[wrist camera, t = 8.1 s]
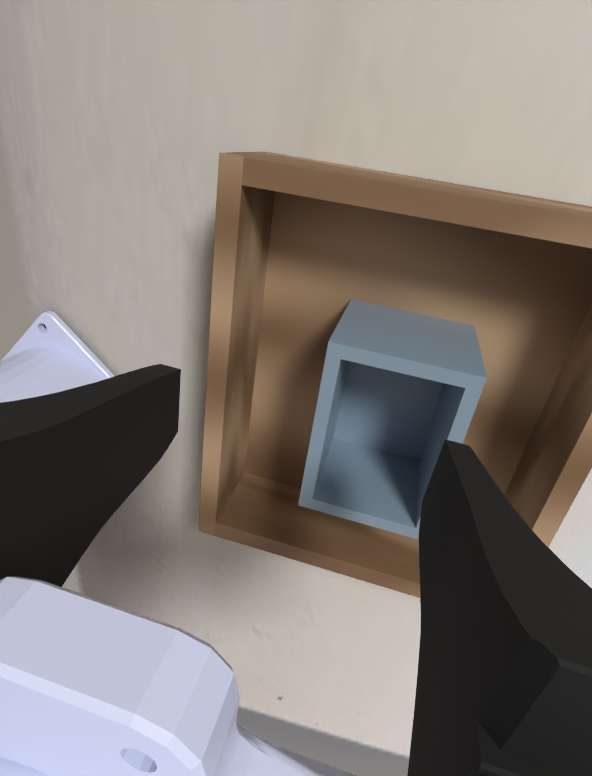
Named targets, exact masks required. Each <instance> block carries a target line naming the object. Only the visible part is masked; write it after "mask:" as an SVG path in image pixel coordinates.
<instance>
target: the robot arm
mask: <svg viewBox="0 0 592 776" xmlns="http://www.w3.org/2000/svg"><path fill="white" fill-rule="evenodd" d="M43 324H44V325H45V326H46V328H47V329H45V327H44V325H43ZM180 373H181V369H177V368H173V367H169V366H166V365H162V364H158V365H153V366H149V367H145V368H141V369H138V370H134V371H131V372H128V373H125V374H121V375H118V376H114V375H113V374H112V373H111V372H110V371H109V370H108V369H107V368H106V366H105V365H104V364H103V363H102V362H101V361H100V360H99V359H98V358H97V357H96V356H95V355H94V354H93V353H92V352H91V351H90V349H89V348H88V347H87V346H86V345H85V344H84V343H83V342H82V341H81V340H80V339H79V338H78V337H77V336H76V335H75V334H74V332H73V331H72V330H71V329H70V328H69V327H68V326H67V325H66V324H65V323H64V322H63V321H62V320H61V319H60V318H59V317H58V315H56V314H55V313H54V312H52V311H46V312H44V313H42V314H41V315H40V316H39V317H38V318H37V319H36V320H35V322H34V323H33V324H32V325H31V326H30V328H29V329H28V330H27V331H26V332H25V333H24V335H23V336H22V337H21V338H20V339H19V340H18V342H17V343H16V344H15V345H14V346H13V347H12V349H11V350H10V351H9V352H8V353H7V355H6V356H5V357H4V358H3V359H2V360H1V362H0V776H356V775H353V774H350V773H348V772H345V771H342V770H340V769H337V768H334V767H331V766H329V765H326V764H324V763H321V762H318V761H316V760H313V759H310V758H308V757H305V756H302V755H299V754H297V753H294V752H291V751H289V750H286V749H283V748H281V747H278V746H275V745H273V744H272V743H270V742H269V741H267V740H265V739H264V738H262V737H260V736H259V735H257V734H255V733H254V732H252V731H250V730H249V729H247V728H245V727H244V726H242V725H240V724H238V723H237V722H236V716H237V711H238V705H239V699H240V695H239V691H238V686H237V682H236V678H235V674H234V672H233V670H232V668H231V666H230V665H229V664H228V663H227V662H226V661H225V660H224V659H223V658H222V656H221V655H220V654H219V653H218V652H217V651H216V650H215V649H214V648H213V647H212V646H211V645H210V644H209V643H207V642H205V641H203V640H201V639H199V638H197V637H195V636H194V635H192V634H190V633H188V632H186V631H184V630H182V629H180V628H177V627H174V626H172V625H169V624H166V623H163V622H160V621H157V620H154V619H151V618H149V617H146V616H143V615H140V614H137V613H134V612H131V611H128V610H126V609H123V608H120V607H117V606H114V605H111V604H108V603H105V602H103V601H100V600H97V599H94V598H91V597H88V596H85V595H82V594H80V593H77V592H74V591H71V590H68V589H65V588H62V585H63V584H64V582H65V581H66V579H67V578H68V576H69V575H70V573H71V572H72V570H73V569H74V567H75V566H76V564H77V563H78V561H79V560H80V558H81V557H82V555H83V554H84V552H85V551H86V549H87V548H88V547H89V545H90V544H91V542H92V541H93V539H94V538H95V536H96V535H97V534H98V532H99V531H100V529H101V528H102V527H103V525H104V524H105V523H106V522H107V520H108V519H109V518H110V517H111V515H112V514H113V513H114V512H115V511H116V510H117V509H118V507H119V506H120V505H121V504H122V503H123V502H124V501H125V499H126V498H127V497H128V496H129V495H130V494H131V493H132V491H133V490H134V489H135V488H136V487H137V486H138V485H139V483H140V482H141V481H142V480H143V479H144V478H145V477H146V475H147V474H148V473H149V472H150V471H151V470H152V468H153V467H154V466H155V465H156V464H157V463H158V461H159V460H160V459H161V457H162V456H163V454H164V453H165V451H166V450H167V448H168V447H169V445H170V444H171V442H172V440H173V439H174V437H175V435H176V434H177V432H178V419H179V396H180ZM419 569H420V598H421V637H420V650H419V663H418V676H417V687H416V698H415V710H414V720H413V729H412V739H411V749H410V758H409V768H408V776H592V588H590V587H589V586H588V585H587V584H586V583H585V582H584V581H582V580H581V579H580V578H579V577H578V576H577V575H576V574H575V573H573V572H572V571H571V570H570V569H569V568H568V567H567V566H566V565H565V564H564V563H563V562H562V561H561V560H560V559H559V558H558V557H557V556H556V555H555V554H554V553H553V552H552V551H551V550H550V549H549V548H548V547H547V546H546V545H545V544H544V543H543V542H542V541H541V540H540V538H539V537H538V536H537V535H536V534H535V533H534V532H533V531H532V529H531V528H530V527H529V526H528V525H527V524H526V522H525V521H524V520H523V519H522V517H521V516H520V515H519V514H518V513H517V511H516V510H515V509H514V508H513V506H512V505H511V504H510V502H509V501H508V500H507V498H506V497H505V496H504V494H503V493H502V492H501V490H500V489H499V488H498V486H497V485H496V483H495V482H494V480H493V479H492V478H491V476H490V475H489V473H488V472H487V470H486V469H485V467H484V466H483V464H482V463H481V461H480V460H479V458H478V457H477V455H476V454H475V452H474V451H473V450H472V448H471V447H470V446H469V445H465V444H461V443H458V442H454V441H450V440H446V439H445V441H444V443H443V446H442V449H441V452H440V454H439V457H438V460H437V462H436V465H435V468H434V470H433V473H432V476H431V478H430V481H429V484H428V487H427V489H426V492H425V495H424V497H423V500H422V507H421V516H420V525H419Z"/></svg>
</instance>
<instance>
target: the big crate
mask: <svg viewBox="0 0 592 776" xmlns="http://www.w3.org/2000/svg"><path fill="white" fill-rule="evenodd" d="M351 299H353V300H358V301H363V302H368V303H372V304H377V305H382V306H386V307H391V308H396V309H400V310H405V311H410V312H415V313H419V314H424V315H429V316H433V317H438V318H443V319H448V320H452V321H457V322H462V323H466V324H471V325H475V329H476V334H477V338H478V342H479V346H480V350H481V354H482V359H483V363H484V367H485V371H486V375H487V380H486V382H485V385H484V388H483V390H482V393H481V396H480V398H479V401H478V404H477V406H476V409H475V412H474V414H473V417H472V420H471V422H470V425H469V428H468V430H467V433H466V436H465V438H464V441H463V444H465V445H469V446H470V447H471V448H472V450H473V451H474V452H475V454H476V455H477V457H478V458H479V460H480V461H481V463H482V464H483V466H484V467H485V469H486V470H487V472H488V473H489V475H490V476H491V478H492V479H493V480H494V482H495V483H496V485H497V486H498V488H499V489H500V490H501V492H502V493H503V494H504V496H505V497H506V498H507V500H508V501H509V502H510V504H511V505H512V506H513V508H514V509H515V510H516V511H517V513H518V514H519V515H520V516H521V517H522V519H523V520H524V521H525V522H526V524H527V525H528V526H529V527H530V528H531V529H532V531H533V532H534V533H535V534H536V535H537V536H538V537H539V538H540V540H541V541H542V542H543V543H544V544H545V545H546V546H547V547H549V545H550V543H551V541H552V539H553V538H554V536H555V534H556V532H557V530H558V528H559V527H560V525H561V523H562V521H563V519H564V517H565V516H566V514H567V512H568V510H569V508H570V506H571V505H572V503H573V501H574V499H575V497H576V495H577V494H578V492H579V490H580V488H581V486H582V484H583V483H584V481H585V479H586V477H587V475H588V473H589V472H590V470H591V468H592V207H589V206H584V205H578V204H572V203H566V202H560V201H554V200H548V199H542V198H536V197H530V196H524V195H518V194H512V193H506V192H500V191H494V190H488V189H482V188H476V187H470V186H464V185H459V184H453V183H447V182H441V181H435V180H429V179H423V178H417V177H411V176H405V175H399V174H393V173H387V172H381V171H375V170H369V169H363V168H357V167H351V166H345V165H339V164H333V163H328V162H322V161H316V160H310V159H304V158H298V157H292V156H286V155H280V154H274V153H268V152H235V153H219V167H218V185H217V203H216V221H215V239H214V258H213V276H212V294H211V312H210V330H209V349H208V367H207V385H206V403H205V421H204V439H203V458H202V476H201V494H200V512H199V530H198V531H201V532H205V533H208V534H211V535H215V536H218V537H221V538H224V539H228V540H231V541H234V542H238V543H241V544H244V545H248V546H251V547H254V548H257V549H261V550H264V551H267V552H271V553H274V554H277V555H281V556H284V557H287V558H290V559H294V560H297V561H300V562H304V563H307V564H310V565H314V566H317V567H320V568H323V569H327V570H330V571H333V572H337V573H340V574H343V575H347V576H350V577H353V578H356V579H360V580H363V581H366V582H370V583H373V584H376V585H380V586H383V587H386V588H389V589H393V590H396V591H399V592H403V593H406V594H409V595H413V596H416V597H419V598H420V569H419V540H418V539H414V538H411V537H407V536H404V535H400V534H397V533H393V532H390V531H386V530H383V529H379V528H376V527H372V526H369V525H365V524H362V523H358V522H355V521H351V520H348V519H344V518H341V517H337V516H334V515H330V514H327V513H323V512H320V511H316V510H313V509H309V508H306V507H302V506H299V505H298V503H299V497H300V492H301V487H302V481H303V476H304V470H305V465H306V460H307V454H308V449H309V444H310V438H311V433H312V427H313V422H314V417H315V411H316V406H317V401H318V395H319V390H320V384H321V379H322V374H323V368H324V363H325V358H326V352H327V347H328V342H329V340H330V338H331V336H332V334H333V332H334V330H335V328H336V327H337V325H338V323H339V321H340V319H341V317H342V315H343V313H344V311H345V310H346V308H347V306H348V304H349V302H350V300H351Z"/></svg>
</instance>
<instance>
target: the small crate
mask: <svg viewBox="0 0 592 776" xmlns="http://www.w3.org/2000/svg"><path fill="white" fill-rule="evenodd" d="M486 380H487V375H486V371H485V367H484V363H483V359H482V354H481V350H480V346H479V342H478V338H477V334H476V329H475V325H471V324H466V323H462V322H457V321H452V320H448V319H443V318H438V317H433V316H429V315H424V314H419V313H415V312H410V311H405V310H400V309H396V308H391V307H386V306H382V305H377V304H372V303H368V302H363V301H358V300H353V299H351V300H350V302H349V304H348V306H347V308H346V310H345V311H344V313H343V315H342V317H341V319H340V321H339V323H338V325H337V327H336V328H335V330H334V332H333V334H332V336H331V338H330V340H329V342H328V347H327V352H326V358H325V363H324V368H323V374H322V379H321V384H320V390H319V395H318V401H317V406H316V411H315V417H314V422H313V427H312V433H311V438H310V444H309V449H308V454H307V460H306V465H305V470H304V476H303V481H302V487H301V492H300V497H299V503H298V505H299V506H302V507H306V508H309V509H313V510H316V511H320V512H323V513H327V514H330V515H334V516H337V517H341V518H344V519H348V520H351V521H355V522H358V523H362V524H365V525H369V526H372V527H376V528H379V529H383V530H386V531H390V532H393V533H397V534H400V535H404V536H407V537H411V538H414V539H418V540H419V525H420V516H421V507H422V500H423V497H424V495H425V492H426V489H427V487H428V484H429V481H430V478H431V476H432V473H433V470H434V468H435V465H436V462H437V460H438V457H439V454H440V452H441V449H442V446H443V443H444V441H445V439H446V440H450V441H454V442H458V443H461V444H463V441H464V438H465V436H466V433H467V430H468V428H469V425H470V422H471V420H472V417H473V414H474V412H475V409H476V406H477V404H478V401H479V398H480V396H481V393H482V390H483V388H484V385H485V382H486Z"/></svg>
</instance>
